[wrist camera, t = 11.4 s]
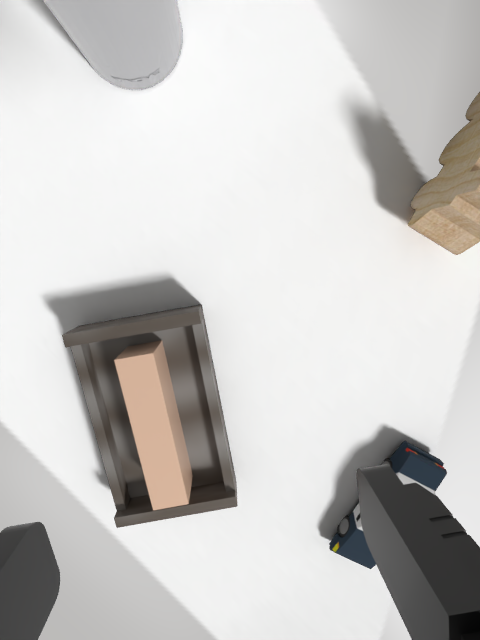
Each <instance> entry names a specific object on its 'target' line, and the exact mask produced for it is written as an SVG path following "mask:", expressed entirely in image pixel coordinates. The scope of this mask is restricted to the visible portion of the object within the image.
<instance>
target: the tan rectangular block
mask: <svg viewBox="0 0 480 640" xmlns="http://www.w3.org/2000/svg"><path fill="white" fill-rule="evenodd" d="M114 361H115V365H116V369H117V373H118V377H119V381H120V384H121V388H122V392H123V396H124V400H125V404H126V408H127V411H128V415H129V419H130V423H131V427H132V431H133V435H134V438H135V442H136V446H137V450H138V454H139V458H140V462H141V465H142V469H143V473H144V477H145V481H146V485H147V489H148V492H149V496H150V500H151V504H152V508H153V510H159V509H164V508H170V507H176V506H181V505H187V504H189V498H190V491H191V485H192V478H193V474H192V470H191V465H190V461H189V457H188V452H187V448H186V443H185V439H184V435H183V430H182V426H181V421H180V417H179V413H178V408H177V404H176V399H175V395H174V391H173V386H172V382H171V377H170V373H169V369H168V364H167V360H166V355H165V351H164V347H163V342H162V340H161V341H155V342H150V343H144V344H138V345H133V346H128V347H127V348H126V349H125V350H124V351H123V352H122V353H121V354H120V355H119V356H118V357H117V358H116V359H115V360H114Z"/></svg>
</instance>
